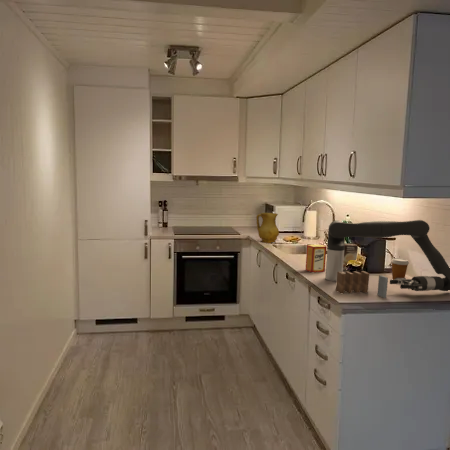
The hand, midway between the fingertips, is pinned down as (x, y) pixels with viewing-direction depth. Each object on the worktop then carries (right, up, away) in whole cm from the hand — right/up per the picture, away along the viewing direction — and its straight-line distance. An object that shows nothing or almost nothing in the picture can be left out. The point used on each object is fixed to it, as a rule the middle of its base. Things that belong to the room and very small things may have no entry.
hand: (395, 284), depth 215 cm
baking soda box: (-30, +1, +48) cm, 57 cm away
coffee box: (-8, +1, +56) cm, 57 cm away
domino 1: (-27, -4, +3) cm, 27 cm away
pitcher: (-49, +15, +152) cm, 160 cm away
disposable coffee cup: (+15, -3, +34) cm, 37 cm away
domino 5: (-7, -6, -1) cm, 9 cm away
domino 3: (-18, -5, +5) cm, 19 cm away
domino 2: (-22, -5, +4) cm, 23 cm away
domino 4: (-14, -5, +6) cm, 16 cm away
